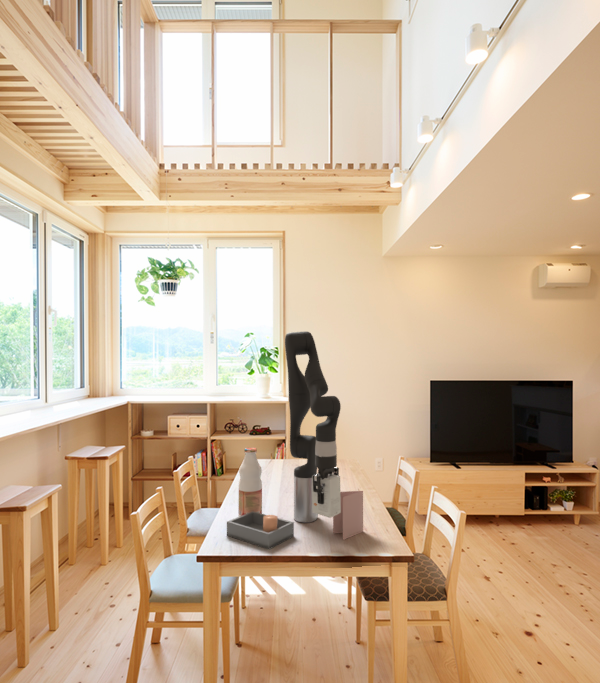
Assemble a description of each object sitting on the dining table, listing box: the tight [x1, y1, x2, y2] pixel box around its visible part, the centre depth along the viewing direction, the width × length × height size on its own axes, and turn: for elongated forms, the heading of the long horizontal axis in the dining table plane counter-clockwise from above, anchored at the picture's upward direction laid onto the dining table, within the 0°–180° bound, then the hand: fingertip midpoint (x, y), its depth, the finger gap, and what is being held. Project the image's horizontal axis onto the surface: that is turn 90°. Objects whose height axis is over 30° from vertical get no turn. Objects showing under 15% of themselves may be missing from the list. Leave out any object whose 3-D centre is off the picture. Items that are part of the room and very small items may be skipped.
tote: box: [226, 511, 295, 550], centre depth 164 cm, size 14×20×5 cm
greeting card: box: [332, 490, 364, 541], centre depth 165 cm, size 11×7×15 cm, turn 98°
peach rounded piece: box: [263, 514, 279, 533], centre depth 160 cm, size 5×5×7 cm
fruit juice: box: [237, 447, 263, 517], centre depth 182 cm, size 9×9×28 cm
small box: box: [312, 473, 341, 518], centre depth 158 cm, size 8×6×13 cm
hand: (326, 500), depth 158 cm, fingers closed on small box, 6 cm apart
